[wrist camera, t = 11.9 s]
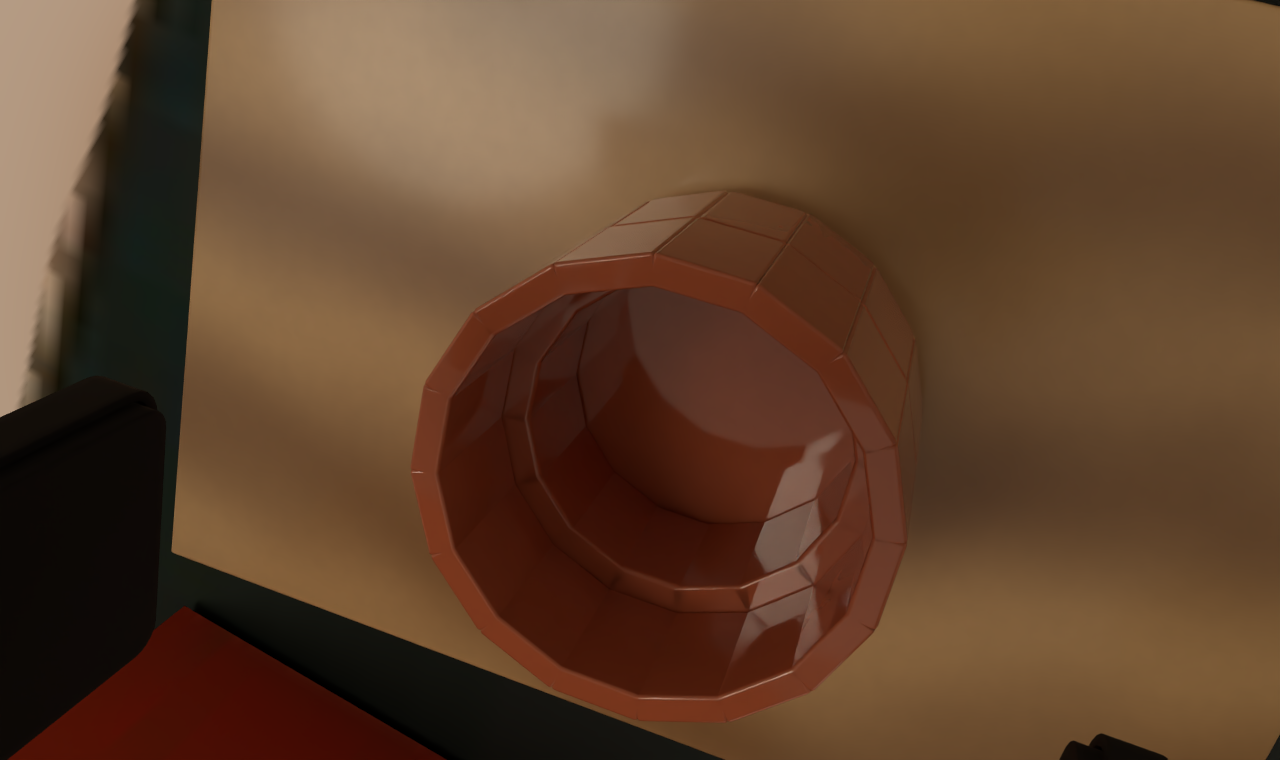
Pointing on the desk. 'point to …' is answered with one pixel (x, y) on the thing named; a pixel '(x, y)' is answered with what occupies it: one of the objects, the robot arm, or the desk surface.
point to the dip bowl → (677, 459)
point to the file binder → (215, 709)
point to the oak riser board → (869, 221)
